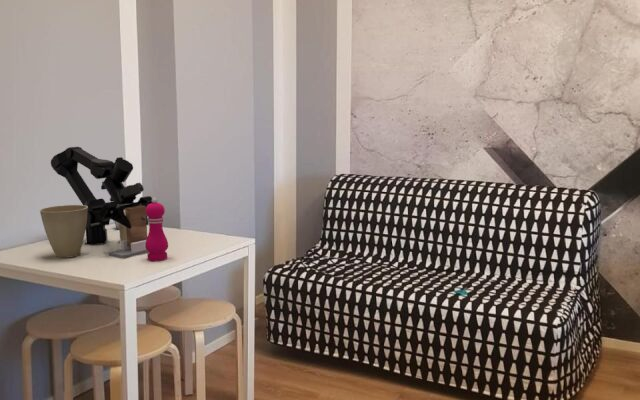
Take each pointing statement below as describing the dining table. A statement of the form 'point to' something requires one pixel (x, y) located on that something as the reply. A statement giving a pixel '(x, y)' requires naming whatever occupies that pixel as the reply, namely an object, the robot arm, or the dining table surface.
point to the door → (136, 224)
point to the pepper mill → (156, 232)
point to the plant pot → (65, 228)
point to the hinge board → (129, 249)
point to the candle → (123, 232)
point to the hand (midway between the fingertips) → (139, 226)
